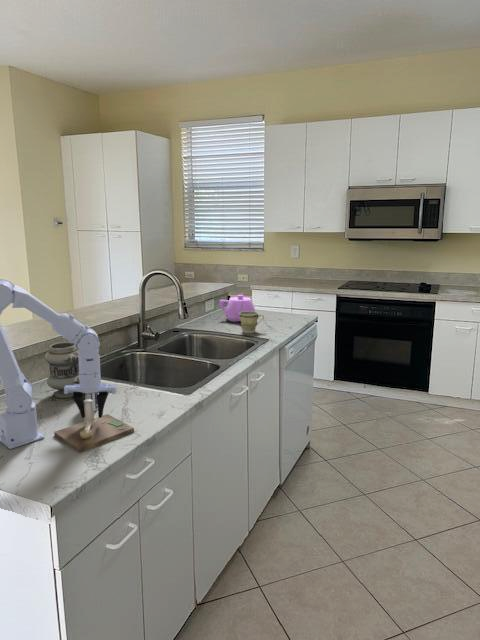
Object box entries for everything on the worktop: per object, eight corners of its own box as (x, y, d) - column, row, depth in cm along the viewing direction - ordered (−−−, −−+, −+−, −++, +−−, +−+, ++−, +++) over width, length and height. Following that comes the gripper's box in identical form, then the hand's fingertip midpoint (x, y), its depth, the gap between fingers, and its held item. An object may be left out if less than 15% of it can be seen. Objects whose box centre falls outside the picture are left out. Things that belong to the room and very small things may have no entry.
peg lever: (91, 438, 131) (89, 413, 129) (79, 439, 130) (77, 414, 129) (95, 421, 141) (94, 398, 140) (85, 422, 141) (83, 399, 139)
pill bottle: (92, 405, 157) (90, 376, 155) (102, 409, 154) (100, 380, 152) (77, 410, 153) (75, 381, 151) (87, 414, 150) (85, 384, 148)
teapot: (218, 317, 290) (218, 292, 287) (253, 317, 292) (253, 292, 288) (220, 326, 268) (220, 299, 265) (257, 325, 270) (258, 299, 266)
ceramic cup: (238, 333, 251) (238, 314, 249) (240, 329, 261) (240, 311, 259) (263, 334, 250) (263, 315, 248) (264, 329, 260) (264, 311, 257)
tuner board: (79, 452, 126) (79, 447, 126) (54, 435, 136) (54, 431, 135) (134, 431, 138) (133, 427, 138) (107, 417, 148) (107, 413, 147)
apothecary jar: (51, 390, 170) (47, 340, 166) (86, 387, 173) (83, 339, 169) (45, 403, 159) (40, 350, 155) (83, 400, 161) (79, 348, 157)
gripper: (118, 367, 141) (120, 410, 144) (68, 367, 140) (71, 410, 143) (113, 375, 134) (115, 420, 137) (60, 375, 133) (63, 420, 136)
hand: (92, 416), depth 139 cm, fingers open, 4 cm apart
